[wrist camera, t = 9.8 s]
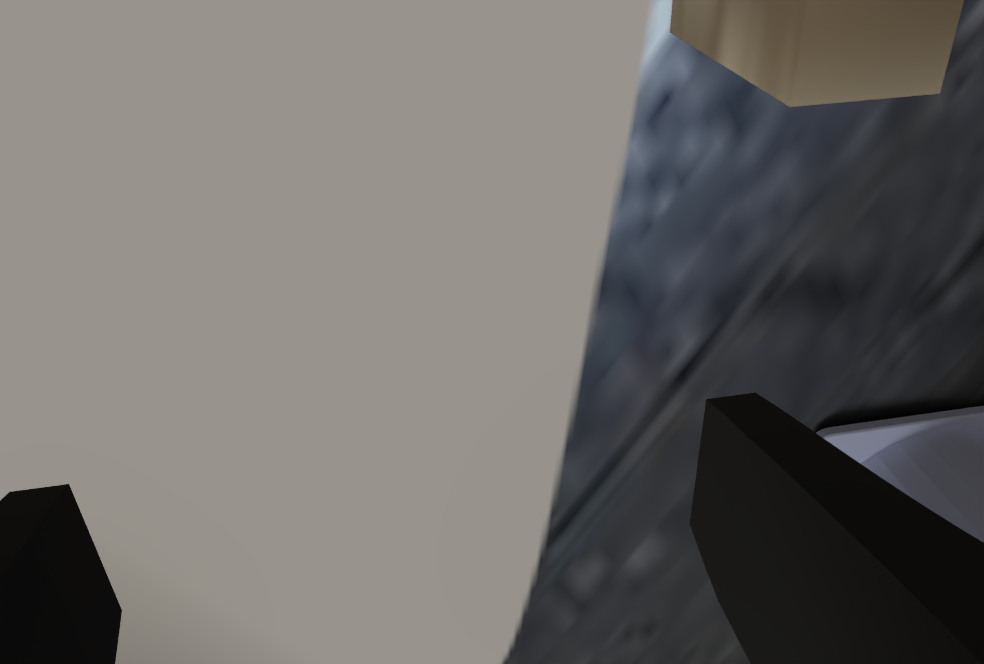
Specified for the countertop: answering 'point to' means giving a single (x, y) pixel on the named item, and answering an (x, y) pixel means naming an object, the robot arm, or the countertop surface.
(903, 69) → the corded block
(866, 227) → the countertop surface
